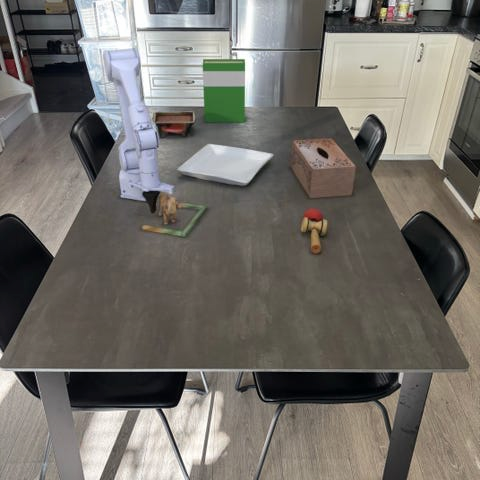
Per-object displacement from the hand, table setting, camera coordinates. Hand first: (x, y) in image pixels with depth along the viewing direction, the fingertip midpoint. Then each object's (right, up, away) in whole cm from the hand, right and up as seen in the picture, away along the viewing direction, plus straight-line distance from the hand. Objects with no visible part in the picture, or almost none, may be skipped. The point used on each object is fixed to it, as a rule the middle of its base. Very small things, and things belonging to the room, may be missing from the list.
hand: (153, 211), depth 166 cm
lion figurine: (+5, -2, 0) cm, 5 cm away
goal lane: (+7, -3, -1) cm, 8 cm away
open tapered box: (0, +45, +58) cm, 74 cm away
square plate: (+22, +21, +28) cm, 41 cm away
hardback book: (+20, +56, +72) cm, 93 cm away
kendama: (+49, -10, -9) cm, 51 cm away
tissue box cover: (+55, +15, +22) cm, 61 cm away
